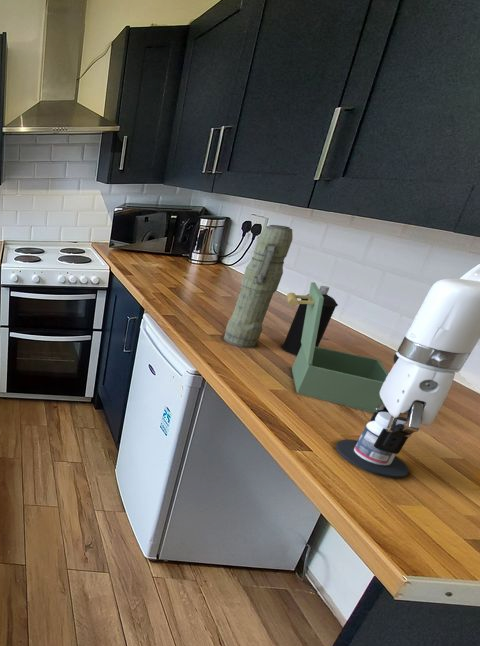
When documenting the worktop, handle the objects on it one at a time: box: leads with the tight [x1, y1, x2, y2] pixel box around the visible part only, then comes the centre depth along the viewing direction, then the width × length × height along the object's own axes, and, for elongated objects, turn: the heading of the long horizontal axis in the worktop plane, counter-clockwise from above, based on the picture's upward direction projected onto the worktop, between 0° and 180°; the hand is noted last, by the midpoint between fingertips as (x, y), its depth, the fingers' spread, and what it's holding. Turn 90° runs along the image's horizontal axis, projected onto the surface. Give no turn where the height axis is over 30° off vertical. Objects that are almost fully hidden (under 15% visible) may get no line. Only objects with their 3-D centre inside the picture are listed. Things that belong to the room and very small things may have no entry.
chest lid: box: [286, 282, 324, 364], centre depth 98 cm, size 16×15×6 cm
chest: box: [291, 345, 389, 414], centre depth 97 cm, size 15×15×8 cm
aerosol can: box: [281, 285, 339, 356], centre depth 115 cm, size 8×8×20 cm
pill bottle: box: [354, 412, 405, 466], centre depth 74 cm, size 5×5×9 cm
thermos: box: [223, 224, 294, 349], centre depth 117 cm, size 9×12×35 cm
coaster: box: [335, 439, 409, 479], centre depth 75 cm, size 10×10×1 cm
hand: (381, 440), depth 74 cm, fingers closed on pill bottle, 5 cm apart
